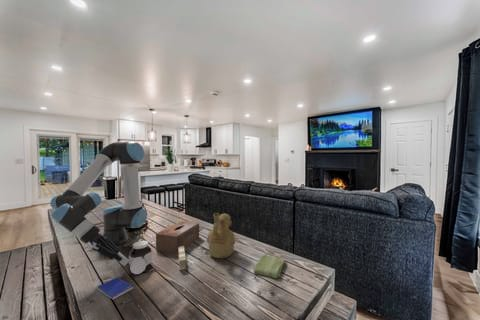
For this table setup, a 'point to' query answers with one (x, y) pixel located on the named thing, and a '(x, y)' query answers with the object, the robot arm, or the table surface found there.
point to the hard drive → (115, 288)
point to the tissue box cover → (177, 236)
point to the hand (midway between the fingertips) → (127, 263)
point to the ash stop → (181, 258)
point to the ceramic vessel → (221, 237)
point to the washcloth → (269, 266)
